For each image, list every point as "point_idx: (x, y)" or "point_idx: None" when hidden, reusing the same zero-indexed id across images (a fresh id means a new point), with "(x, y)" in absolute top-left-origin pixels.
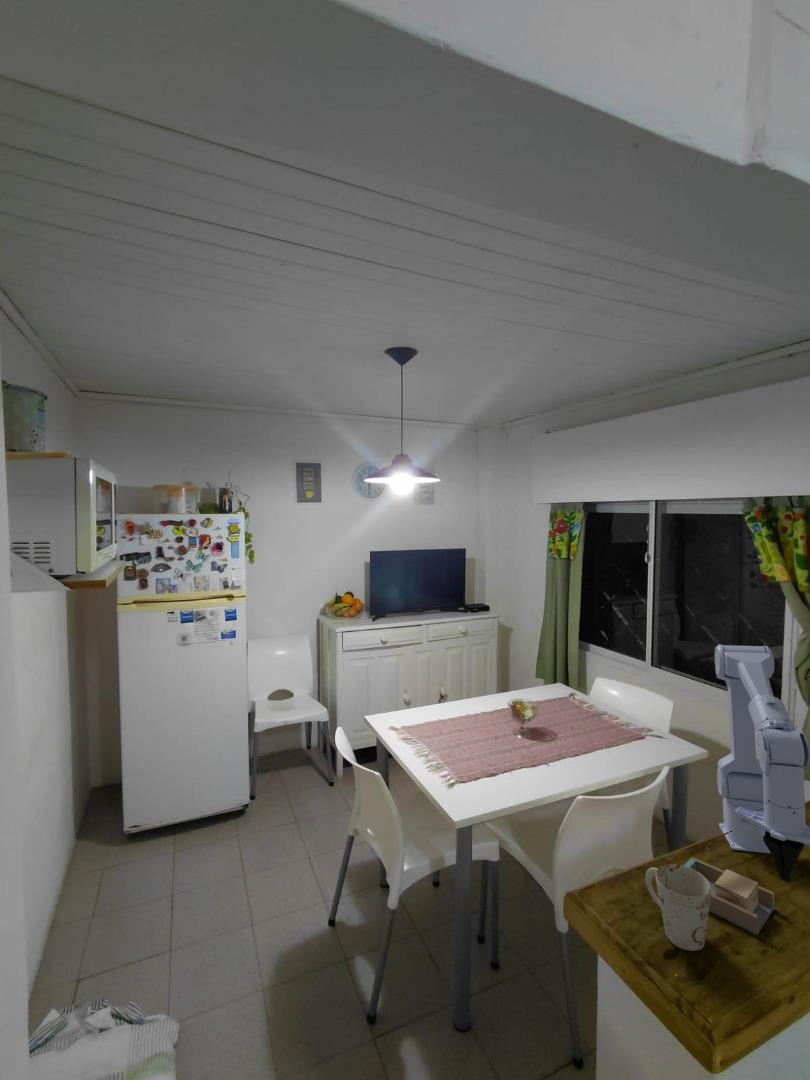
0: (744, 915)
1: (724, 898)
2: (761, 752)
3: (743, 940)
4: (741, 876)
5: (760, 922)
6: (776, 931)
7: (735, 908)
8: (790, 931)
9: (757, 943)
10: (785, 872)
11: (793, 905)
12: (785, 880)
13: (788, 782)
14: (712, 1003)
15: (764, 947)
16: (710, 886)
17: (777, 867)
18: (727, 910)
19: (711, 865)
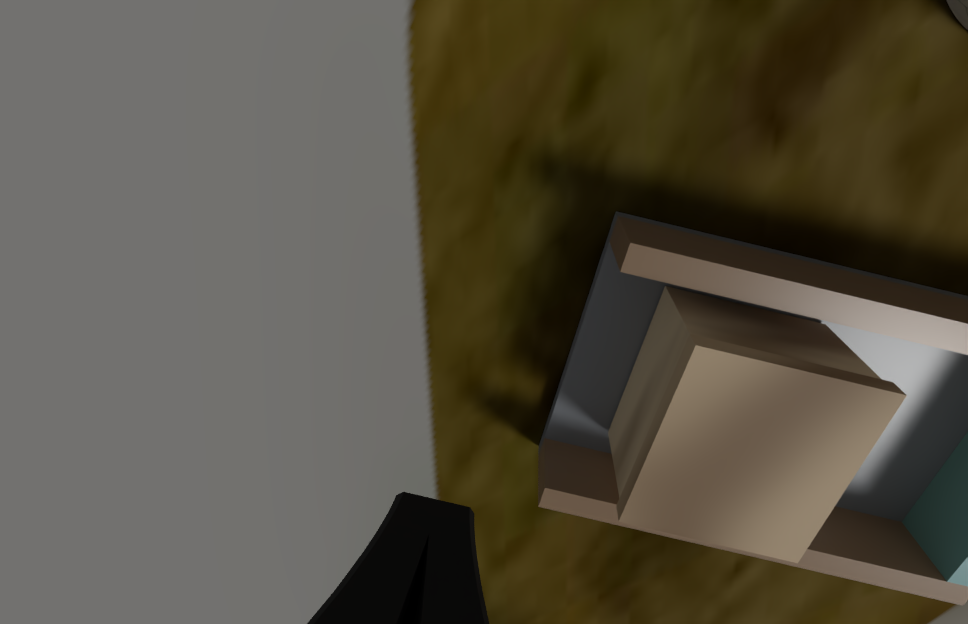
0: (695, 253)
1: (806, 343)
2: None
3: (688, 121)
4: (713, 533)
5: (600, 304)
6: (527, 293)
7: (753, 270)
8: (469, 328)
9: (616, 141)
10: (402, 563)
11: (465, 501)
12: (428, 503)
13: None
14: None
15: (581, 129)
16: None
17: (476, 599)
18: (786, 266)
19: (854, 578)
